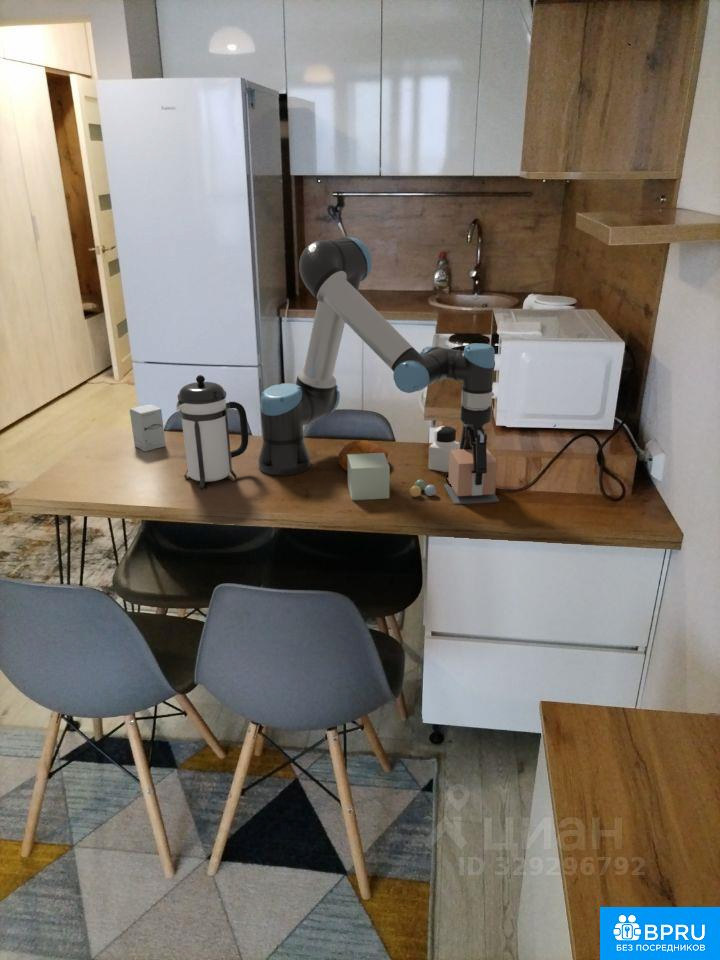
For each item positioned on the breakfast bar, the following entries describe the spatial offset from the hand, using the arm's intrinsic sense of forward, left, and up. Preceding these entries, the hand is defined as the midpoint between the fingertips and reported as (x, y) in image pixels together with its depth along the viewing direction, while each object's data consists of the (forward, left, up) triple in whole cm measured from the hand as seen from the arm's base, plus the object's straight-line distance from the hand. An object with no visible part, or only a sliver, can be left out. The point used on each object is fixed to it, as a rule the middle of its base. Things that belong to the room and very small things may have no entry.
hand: (471, 486), depth 184 cm
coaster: (0, 0, -2) cm, 2 cm away
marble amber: (-15, 0, -2) cm, 15 cm away
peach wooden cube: (0, 0, 0) cm, 0 cm away
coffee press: (-69, +20, -2) cm, 72 cm away
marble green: (-13, +4, -2) cm, 14 cm away
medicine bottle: (-3, +19, -2) cm, 19 cm away
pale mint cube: (-27, +5, -2) cm, 28 cm away
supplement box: (-91, +48, -2) cm, 103 cm away
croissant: (-26, +24, -3) cm, 35 cm away
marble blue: (-11, 0, -2) cm, 11 cm away
